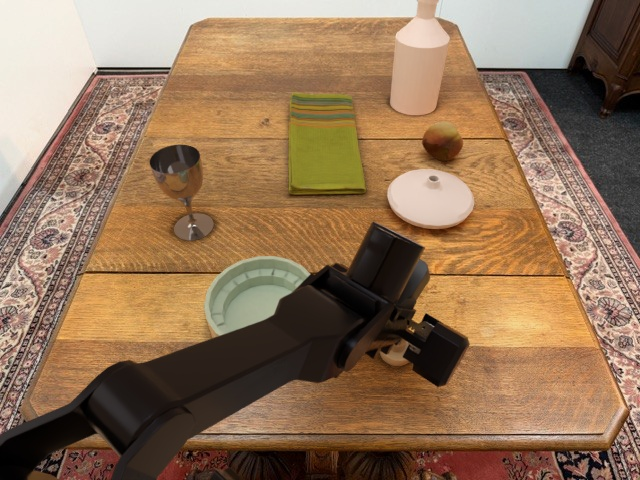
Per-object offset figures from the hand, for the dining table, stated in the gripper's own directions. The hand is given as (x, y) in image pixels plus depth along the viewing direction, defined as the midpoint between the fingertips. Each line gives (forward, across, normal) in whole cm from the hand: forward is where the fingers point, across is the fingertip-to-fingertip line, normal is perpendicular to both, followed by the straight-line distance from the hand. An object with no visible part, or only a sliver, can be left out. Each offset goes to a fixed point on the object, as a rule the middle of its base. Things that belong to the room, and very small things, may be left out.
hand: (406, 317), depth 63 cm
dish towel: (+28, +41, -18) cm, 53 cm away
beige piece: (+4, 0, +6) cm, 7 cm away
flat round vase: (+25, +12, -15) cm, 31 cm away
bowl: (-2, +18, +11) cm, 22 cm away
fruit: (+36, +18, -26) cm, 48 cm away
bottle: (+47, +34, -38) cm, 70 cm away
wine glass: (+3, +43, +6) cm, 43 cm away
